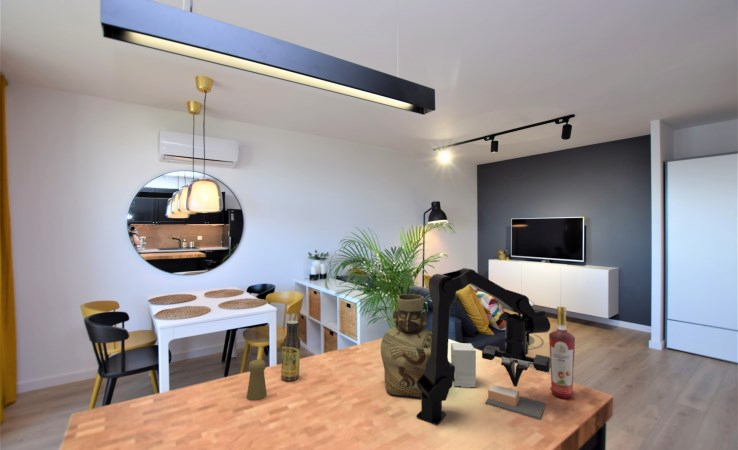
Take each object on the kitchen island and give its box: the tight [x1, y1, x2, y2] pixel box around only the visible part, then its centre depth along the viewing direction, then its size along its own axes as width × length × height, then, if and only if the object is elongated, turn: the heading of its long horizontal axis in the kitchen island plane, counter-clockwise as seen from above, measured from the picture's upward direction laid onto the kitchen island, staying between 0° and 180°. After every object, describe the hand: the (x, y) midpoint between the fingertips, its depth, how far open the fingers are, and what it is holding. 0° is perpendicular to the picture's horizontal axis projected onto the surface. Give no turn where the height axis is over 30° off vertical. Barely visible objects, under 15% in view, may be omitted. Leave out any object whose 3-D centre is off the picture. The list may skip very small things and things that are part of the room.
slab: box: [487, 384, 520, 406], centre depth 105 cm, size 5×3×8 cm
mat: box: [485, 395, 546, 420], centre depth 103 cm, size 10×15×1 cm, turn 55°
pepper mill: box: [246, 358, 268, 402], centre depth 107 cm, size 6×6×11 cm
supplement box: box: [450, 342, 477, 388], centre depth 117 cm, size 7×7×13 cm
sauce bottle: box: [280, 320, 301, 382], centre depth 120 cm, size 6×6×20 cm
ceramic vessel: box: [380, 293, 432, 398], centre depth 114 cm, size 19×21×30 cm
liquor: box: [548, 306, 576, 399], centre depth 109 cm, size 7×7×28 cm
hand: (515, 386), depth 103 cm, fingers closed
